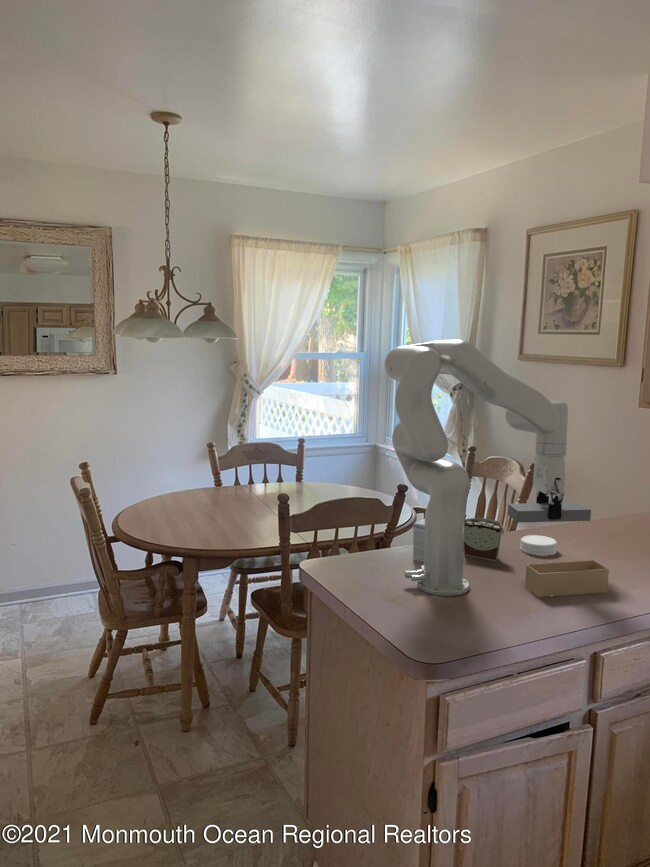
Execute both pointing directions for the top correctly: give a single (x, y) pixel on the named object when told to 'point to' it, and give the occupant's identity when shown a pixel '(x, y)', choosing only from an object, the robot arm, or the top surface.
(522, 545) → the white short cylinder
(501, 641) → the top surface
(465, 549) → the food container
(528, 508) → the lid
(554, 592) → the tan open box
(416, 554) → the light bulb box
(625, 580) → the top surface
